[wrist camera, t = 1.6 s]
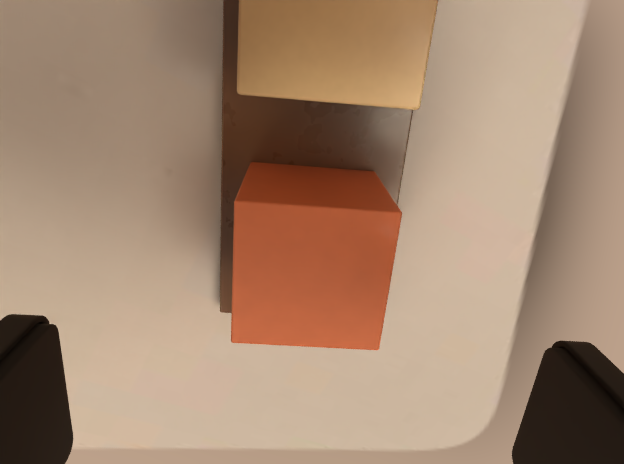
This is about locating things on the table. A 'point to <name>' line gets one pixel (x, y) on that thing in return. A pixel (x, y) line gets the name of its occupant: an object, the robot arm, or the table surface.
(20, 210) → the table surface
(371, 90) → the light wood cube
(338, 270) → the orange cube
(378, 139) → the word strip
